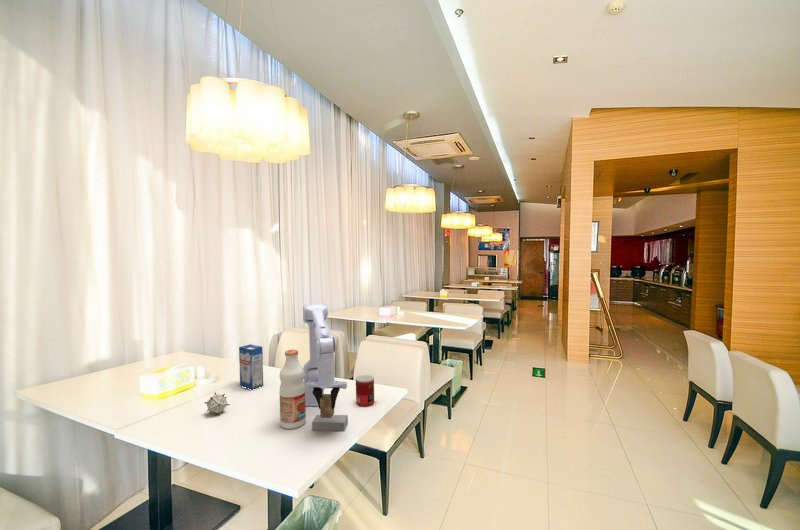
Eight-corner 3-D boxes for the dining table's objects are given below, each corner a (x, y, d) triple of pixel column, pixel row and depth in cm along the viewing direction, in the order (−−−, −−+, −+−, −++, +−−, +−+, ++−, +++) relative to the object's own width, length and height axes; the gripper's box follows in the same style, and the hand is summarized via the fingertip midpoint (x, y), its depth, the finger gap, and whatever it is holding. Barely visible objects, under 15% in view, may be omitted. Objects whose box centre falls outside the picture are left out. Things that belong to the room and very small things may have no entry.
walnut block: (320, 417, 122) (320, 398, 122) (323, 412, 126) (323, 393, 126) (331, 417, 122) (331, 398, 122) (334, 412, 126) (333, 393, 126)
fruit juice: (281, 419, 134) (280, 348, 134) (306, 416, 136) (304, 347, 136) (278, 431, 125) (277, 355, 125) (305, 427, 127) (303, 353, 127)
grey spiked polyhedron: (223, 420, 142) (238, 400, 143) (206, 422, 134) (222, 400, 135) (212, 406, 146) (226, 386, 147) (195, 407, 138) (211, 386, 139)
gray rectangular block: (312, 430, 125) (312, 422, 125) (317, 422, 131) (316, 414, 131) (344, 430, 125) (344, 422, 125) (347, 422, 131) (347, 415, 131)
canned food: (371, 407, 144) (371, 381, 144) (353, 406, 145) (353, 380, 145) (376, 400, 151) (376, 375, 151) (359, 398, 153) (358, 374, 153)
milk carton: (263, 386, 170) (262, 346, 169) (252, 390, 164) (251, 349, 164) (251, 382, 175) (250, 344, 175) (240, 386, 170) (238, 347, 169)
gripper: (302, 374, 120) (303, 412, 120) (343, 374, 119) (344, 413, 119) (309, 368, 127) (310, 404, 127) (347, 368, 126) (348, 404, 126)
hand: (327, 407), depth 124 cm, fingers closed on walnut block, 4 cm apart
